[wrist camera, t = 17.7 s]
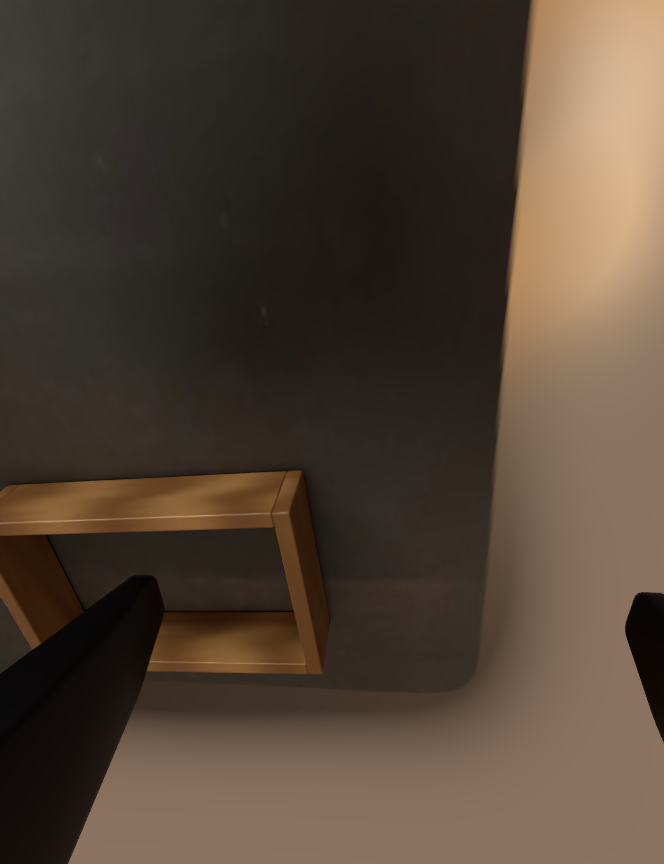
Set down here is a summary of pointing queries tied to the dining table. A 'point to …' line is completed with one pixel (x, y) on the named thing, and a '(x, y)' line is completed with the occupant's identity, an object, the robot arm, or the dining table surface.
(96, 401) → the dining table surface
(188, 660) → the brown wooden rectangular frame
